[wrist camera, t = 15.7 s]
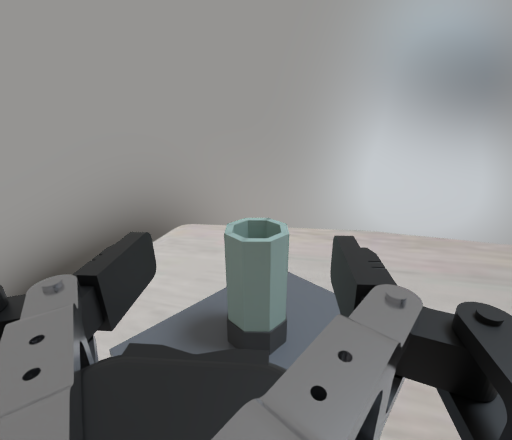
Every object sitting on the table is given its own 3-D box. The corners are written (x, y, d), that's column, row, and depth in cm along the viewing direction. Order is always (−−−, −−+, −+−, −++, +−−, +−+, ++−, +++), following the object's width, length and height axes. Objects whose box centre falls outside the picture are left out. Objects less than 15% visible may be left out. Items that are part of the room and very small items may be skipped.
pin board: (270, 272, 40) (271, 235, 38) (381, 327, 30) (390, 280, 27) (112, 362, 25) (99, 309, 23) (219, 534, 15) (213, 466, 13)
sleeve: (257, 306, 31) (257, 213, 27) (296, 332, 27) (303, 228, 23) (217, 332, 27) (210, 228, 23) (256, 366, 23) (256, 249, 19)
